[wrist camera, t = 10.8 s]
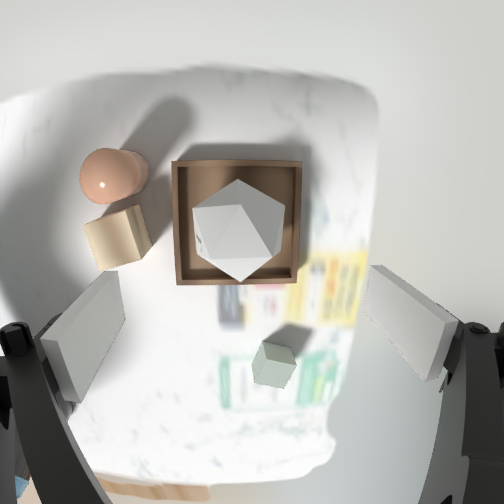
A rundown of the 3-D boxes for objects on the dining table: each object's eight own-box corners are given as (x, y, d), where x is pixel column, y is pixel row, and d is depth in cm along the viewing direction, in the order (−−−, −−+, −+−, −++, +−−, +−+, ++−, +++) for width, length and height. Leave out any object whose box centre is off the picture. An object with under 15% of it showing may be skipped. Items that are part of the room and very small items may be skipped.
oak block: (115, 257, 32) (99, 271, 28) (101, 216, 31) (83, 225, 26) (152, 246, 33) (141, 259, 28) (139, 203, 31) (125, 210, 26)
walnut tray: (179, 277, 34) (176, 285, 31) (175, 161, 30) (171, 161, 28) (291, 275, 35) (296, 283, 33) (296, 161, 31) (302, 161, 29)
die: (225, 164, 30) (163, 203, 23) (304, 181, 27) (260, 230, 20) (226, 230, 35) (175, 279, 28) (295, 251, 32) (256, 312, 25)
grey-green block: (251, 364, 38) (254, 383, 34) (262, 340, 37) (266, 359, 33) (278, 369, 39) (283, 388, 35) (290, 347, 38) (296, 365, 34)
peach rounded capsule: (107, 197, 30) (81, 205, 24) (106, 153, 29) (79, 151, 22) (149, 194, 31) (130, 202, 24) (148, 149, 29) (128, 145, 23)
